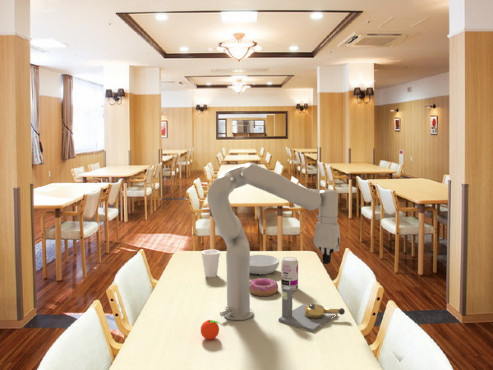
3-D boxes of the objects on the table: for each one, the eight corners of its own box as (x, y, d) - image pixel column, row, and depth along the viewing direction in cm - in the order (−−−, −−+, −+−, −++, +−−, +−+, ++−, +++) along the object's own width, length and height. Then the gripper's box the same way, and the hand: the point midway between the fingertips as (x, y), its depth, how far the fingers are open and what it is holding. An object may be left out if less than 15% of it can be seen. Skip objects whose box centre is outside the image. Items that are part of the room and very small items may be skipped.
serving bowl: (235, 269, 250) (234, 257, 249) (268, 264, 258) (268, 252, 258) (251, 280, 231) (251, 267, 230) (286, 275, 240) (286, 262, 239)
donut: (280, 288, 220) (280, 278, 219) (274, 298, 206) (274, 288, 206) (252, 285, 224) (252, 276, 223) (244, 295, 210) (244, 285, 210)
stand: (314, 332, 171) (315, 299, 170) (278, 321, 182) (278, 289, 180) (339, 315, 187) (340, 285, 185) (304, 306, 197) (304, 277, 196)
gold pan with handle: (304, 318, 181) (304, 308, 180) (304, 310, 189) (304, 301, 188) (345, 320, 179) (345, 310, 179) (343, 312, 187) (343, 302, 186)
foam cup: (199, 274, 241) (199, 250, 240) (216, 271, 245) (215, 248, 244) (205, 279, 233) (205, 255, 231) (222, 276, 237) (222, 253, 235)
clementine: (222, 334, 170) (222, 316, 170) (221, 342, 164) (221, 324, 163) (201, 334, 170) (201, 316, 169) (200, 343, 163) (199, 324, 162)
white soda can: (297, 286, 222) (298, 256, 220) (298, 292, 214) (298, 261, 212) (281, 285, 223) (281, 256, 221) (281, 291, 215) (281, 261, 213)
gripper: (307, 218, 185) (306, 261, 188) (340, 223, 176) (338, 269, 178) (316, 216, 191) (315, 257, 193) (348, 220, 182) (347, 264, 184)
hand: (326, 263), depth 186 cm, fingers closed
